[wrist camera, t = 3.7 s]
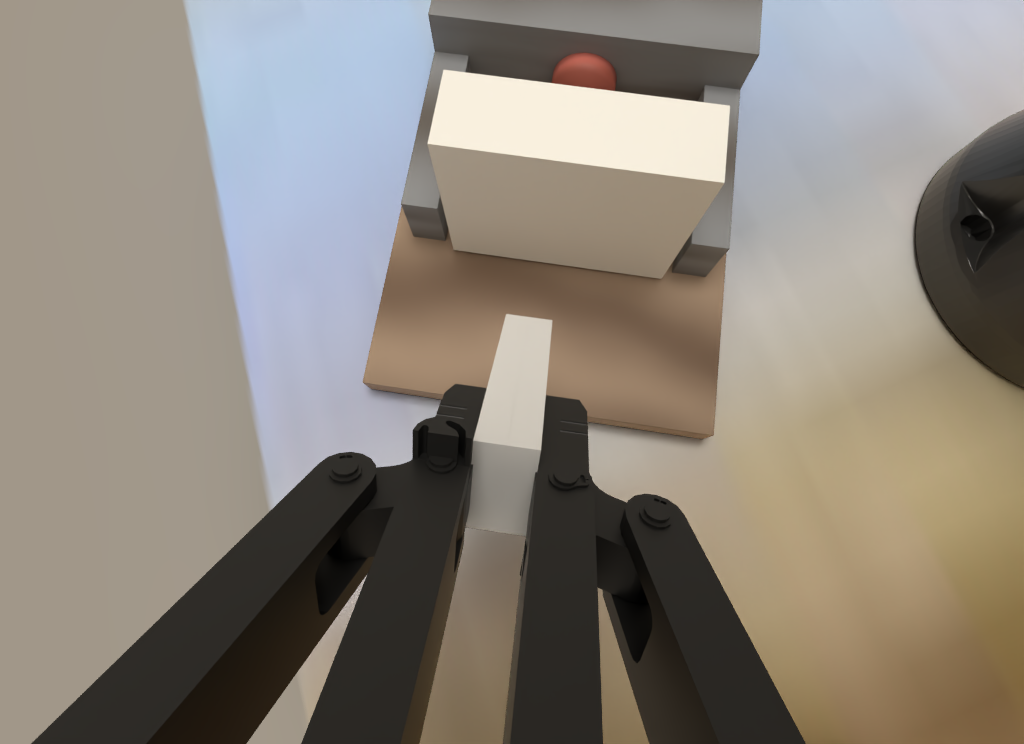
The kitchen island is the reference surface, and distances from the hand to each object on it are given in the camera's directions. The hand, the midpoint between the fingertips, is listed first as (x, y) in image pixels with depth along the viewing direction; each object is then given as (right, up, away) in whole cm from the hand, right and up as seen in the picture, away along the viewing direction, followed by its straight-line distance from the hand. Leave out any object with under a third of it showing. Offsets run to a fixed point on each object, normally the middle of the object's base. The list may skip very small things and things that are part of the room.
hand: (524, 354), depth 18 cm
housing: (+2, +8, +11) cm, 13 cm away
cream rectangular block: (+2, +6, +8) cm, 10 cm away
